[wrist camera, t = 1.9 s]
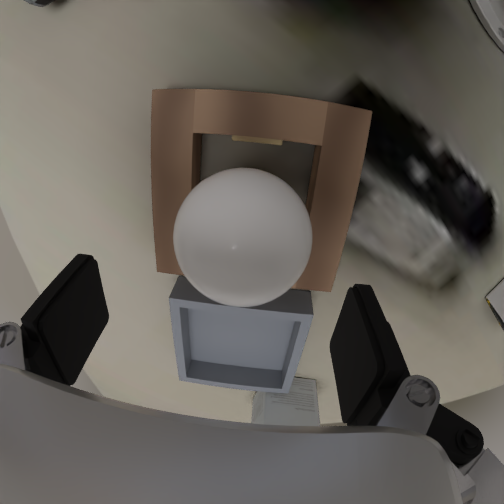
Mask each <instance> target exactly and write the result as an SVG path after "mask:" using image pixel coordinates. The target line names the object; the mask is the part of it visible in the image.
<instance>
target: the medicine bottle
mask: <svg viewBox="0 0 504 504" xmlns="http://www.w3.org/2000/svg"><path fill="white" fill-rule="evenodd" d="M486 301H487V302H488V304H489V306H490V308H491V309H492V311H493V313H494V315H495V317H496V318H497V320H498V322H499V324H500V326H501V327H502V329H503V330H504V279H503V280H502V281H501V282H500V283H499V284H498V285H497V286H496V287H495V288H494V289H493V290H492V291H491V292H490V293H489V294H488V295H487V296H486Z"/></svg>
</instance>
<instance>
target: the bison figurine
mask: <svg viewBox="0 0 504 504" xmlns="http://www.w3.org/2000/svg"><path fill="white" fill-rule="evenodd" d="M24 1H26V2H28V3H29V4H32V5H35V6H38V7H43V6H46V5H49V4H50V3H52V2H53V1H54V0H24Z"/></svg>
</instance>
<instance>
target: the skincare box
mask: <svg viewBox="0 0 504 504" xmlns="http://www.w3.org/2000/svg"><path fill="white" fill-rule="evenodd" d="M251 423H252V424H266V425H286V426H320V418H319V408H318V397H317V388H316V380H312V379H304V378H296V377H294V378H293V381H292V384H291V387H290V390H289V393H288V394H287V393H273V392H261V391H257V392H256V394H255V396H254V398H253V407H252V422H251Z"/></svg>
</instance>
